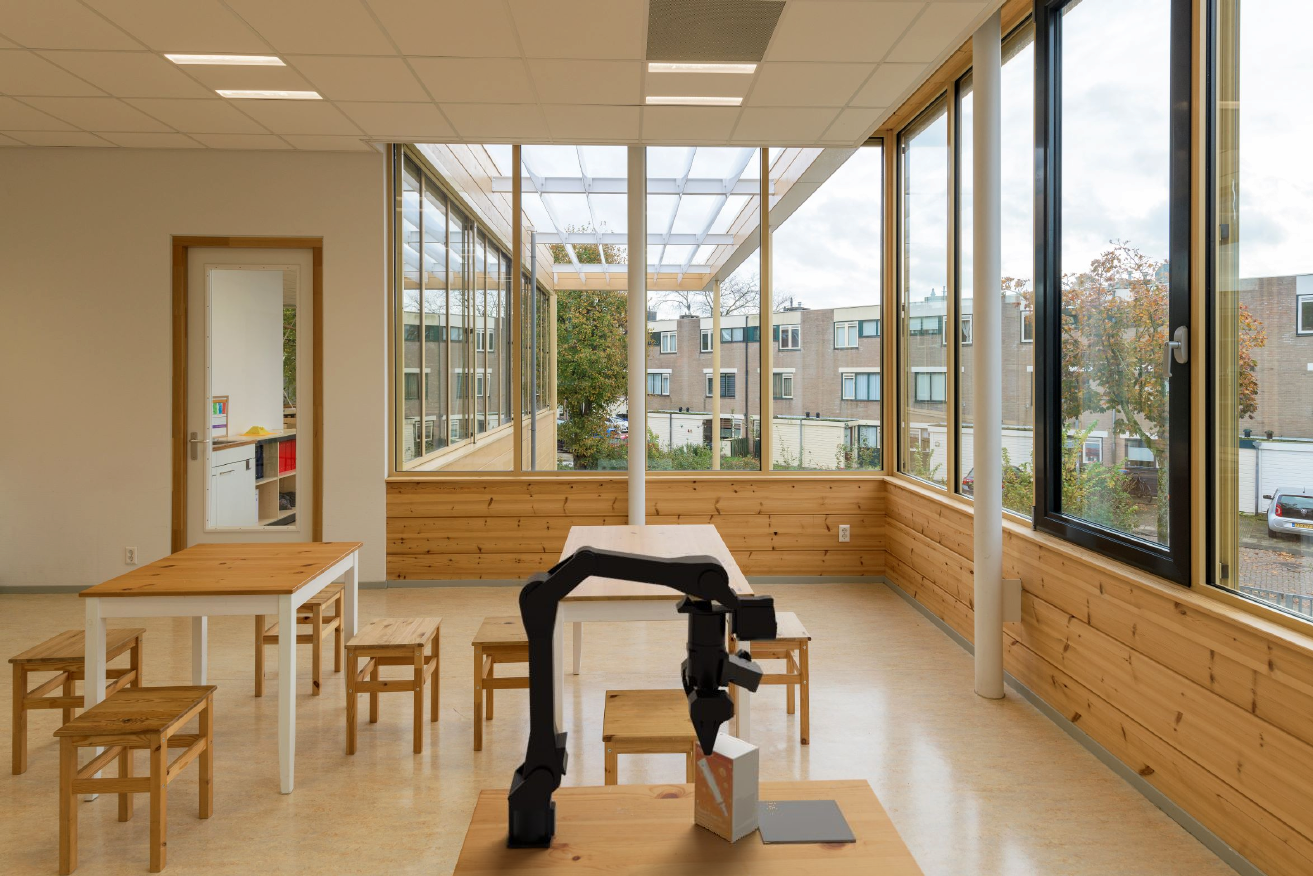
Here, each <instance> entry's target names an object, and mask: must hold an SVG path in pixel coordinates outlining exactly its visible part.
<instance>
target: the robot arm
mask: <svg viewBox="0 0 1313 876" xmlns="http://www.w3.org/2000/svg"><path fill="white" fill-rule="evenodd" d="M589 577H598V578H604V579H605V578H606V579H612V580H619V581H627V582H635V583H640V584H648V585H654V586H655V585H656V586H657V585H658V586H662V587H663V586H664V587H667V588H671V589H673V590H676V591H678V592H680V593H682V594H684V596H683V598H682V599H680V600H678V601H677V603H675V607H676V608H675V609H676V611H677V613H678V614H687V616H688V617H687V641H686V647H685V649H686V652H687V657H686V658H685V659H684V660H682V662H681V663H680V678H681V682H682V687H683V689H684V690H683V691H684V693H685V695H686V698H687V701H688V714H689V718H690V720H691V723H692V726H693V729H694V731H695V734H696V737H697V740H698V741H699V742H700V745H701V748H702V751H703V753H704V755H705V756H710V755H712V752H713V748H714V744H715V741H716V737H717V734H718V733H719V730H720V727H721V725H722V724H724V723H725V722H727V721H730V720H731V719H732V718H734V715H735V704H734V701H733V698H732V695H731V694H730V693H728V691H727V690H726V689H720V688H730V684H733V685H735V686H738V687H740V688H743V689H746V690H747V691H748V692H750V693H757V692H758V688H759V686H760V683H761V681H762V679H763V675H764V672H763V670H762V667H761V665H759V664H758V663H757V662H756V661H752V655H751V652H750V651H749V650H747V649H744V648H740V649H739V650H738V651H736V653H729V652H728V651H727V646H726V634H727V633H726V631H727V630H726V627H727V622H728V631H729V635H735V638H736V639H735V640H736V641H737V642H775V641H776V639H777V635H778V621H777V620H776V619H777V617H776V611H775V606H774V605H775V599H774V597H772V595H771V594H762V595H759V596H758V595H757V596H756V595H755V596H746V595H745V596H743V595H742V596H741V595H740V596H739V595H738V594H737V592H736V590H735V588H734V587H732V588H731V587H730V585H729V584H730V577H729V574H728V572H727V569H725V567H724V566H723V564H722V562H720V560H719V559H718V558H716V557H715V556H712V555H708V554H702V555H701V554H699V555H698V554H695V555H683V556H676V557H662V556H656V555H655V556H654V555H648V554H647V555H646V554H641V553H633V552H626V551H625V552H624V551H617V550H610V549H602V548H597V547H593V546H592V545H582V546H580V547H578V548H577V549H576V550H575V552H573V553H572V554H571V555H569V556H567V557H565V558H564V559H563V560H561V561H560V562H558V563H556V564H555V565H554V566H552V567H551V568H550V569H549V570H547V571H537V572H536V573H533V574H531V575H530V576H529V577H528V578H527V579H526V580H525V582H524V585H522V588H521V591H520V593H519V596H518V605H519V606H518V607H519V611H520V615H521V616H520V617H521V620H522V625H523V628H524V631H525V634H526V638H527V641H528V645H527V646H528V650H527V651H528V687H529V688H528V689H529V691H528V693H529V695H528V696H529V697H528V698H529V736H528V742H527V748H526V751H525V752H526V753H525V758H524V762H522V764H520V765H519V766H518V767H517V768H516V769H515V770H514V773H513V776H512V780H511V783H510V788H509V791H508V796H507V801H508V805H507V806H508V808H507V809H508V813H507V814H508V815H507V816H508V817H507V819H508V825H507V826H508V831H507V832H508V835H507V839H506V842H505V843H506V845H505V846H506V847H505V848H508V849H509V848H510V849H511V848H513V849H514V848H515V849H517V848H549V847H550V846H551V844H552V839H553V838H552V837H555V835H556V828H557V803H556V801H555V800H554V801H553V793H554V792H556V791H557V789H558V788H560V785H561V784H562V783H561V782H562V778H563V777H562V776H564V777H565V776H566V775H567V770H568V769H567V768H568V763H569V762H568V761H569V753H568V751H567V739H568V731H564V732H559V730H558V729H559V728H558V726H557V722H556V682H555V681H556V680H555V677H556V675H555V674H556V673H555V672H556V671H555V669H556V667H555V636H554V635H555V629H556V624H557V620H558V619H557V617H558V612H559V607H560V601H561V600H562V599H564V598H565V597H567V596H568V595H569V594H570V593H571V592H572V591H573V590H575V588H577V587H578V586H579V585H580V584H581V583H583V581H585V580H586V579H588V578H589ZM692 597H694V598H696V599H693V598H692ZM712 601H713V602H714V601H715V602H716V603H718V604H716V603H715V604H714V603H713V602H712ZM727 614H728V621H727ZM726 621H727V622H726Z"/></svg>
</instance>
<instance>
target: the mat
mask: <svg viewBox="0 0 1313 876" xmlns="http://www.w3.org/2000/svg"><path fill="white" fill-rule="evenodd" d="M767 803H768V804H767ZM769 803H773V804H769ZM774 803H776V804H774ZM773 805H774V806H773ZM769 806H772V807H775V808H773V809H772V807H770V808H771V809H770V808H769ZM767 808H768V809H767ZM776 808H777V809H776ZM772 813H773V814H772ZM758 826H759V827H758V829H760V830H759V833H760V832H761V833H760V836H761V835H762V837H761V839H763V840H762V842H779V843H778V844H782V843H781V842H784V843H785V844H787V843H789V844H790V843H793V844H795V843H798V844H799V843H839V842H840V843H844V842H847V843H849V842H850V843H851V842H857V838H856V836H855V835H854V833H853V830H852V829H851V827H850V826H849V824H848V822H847V819H846V818H845V816H844V815H843V813H842V811H841V809H840V807H839V805H838V804H837V801H836V800H835V799H809V800H808V799H806V800H804V799H803V800H801V799H800V800H798V799H797V800H758ZM784 843H783V844H784Z"/></svg>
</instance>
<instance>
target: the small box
mask: <svg viewBox="0 0 1313 876" xmlns="http://www.w3.org/2000/svg"><path fill="white" fill-rule="evenodd" d="M694 747H695V749H694V750H695V751H694V752H695V754H694V811H693V812H694V813H693V815H694V816H693V817H694V820H693V822H694V823H695V824H696V823H697V824H696V825H699V826H701V827H703V828H704V827H705V828H704V829H707V830H708V829H709V830H708V831H710V832H712V831H713V832H712V833H714V832H715V833H716V835H717V834H718V835H717V836H719V835H720V836H719V837H721V836H722V837H721V838H722V839H724V838H725V840H726V841H728V842H729V841H730V842H729V843H731V842H732V844H733V843H736V842H737V841H739V840H740V839H742V838H744V837H746V836H747V835H749V834H750V832H751V833H753V832H754V831H756V830H758V829H759V827H758V801H759V795H760V794H759V790H760V789H759V787H760V783H759V782H760V781H759V780H760V747H758V746H757V745H754V744H752V743H749V742H747V741H745V740H743V739H741V738H738V737H735V736H732V735H730V734H727V733H724V732H723V731H720V732H718V734H717V737H716V741H715V744H714V748H713V752H712V755H710V756H705V755H704V753H703V751H702V748H701V745H700V742H699V740H698V741H696V742H695V746H694ZM757 828H758V829H757ZM755 829H756V830H755ZM753 830H754V831H753ZM752 831H753V832H752ZM715 833H714V834H715ZM748 833H749V834H748ZM746 834H747V835H746ZM745 835H746V836H745ZM743 836H744V837H743ZM741 837H742V838H741ZM738 839H739V840H738ZM736 840H737V841H736Z"/></svg>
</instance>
